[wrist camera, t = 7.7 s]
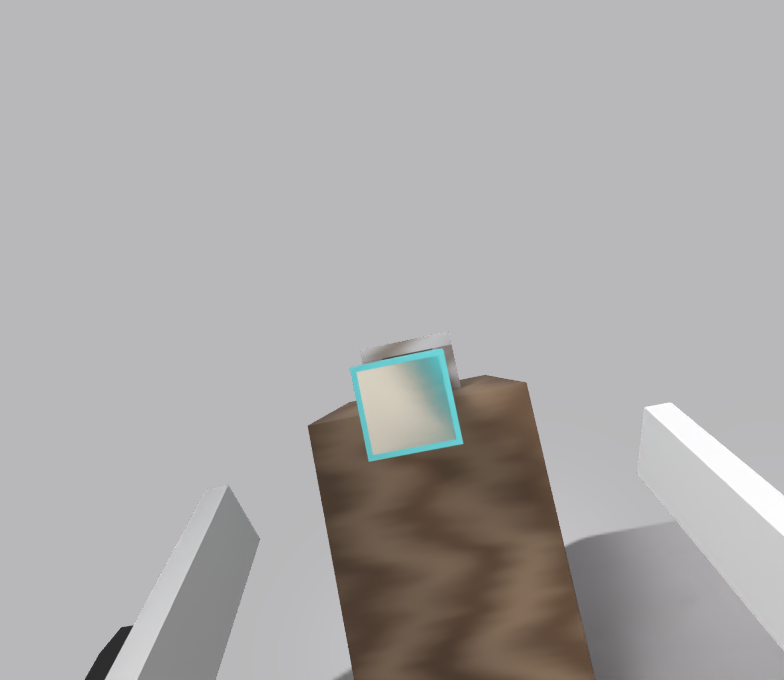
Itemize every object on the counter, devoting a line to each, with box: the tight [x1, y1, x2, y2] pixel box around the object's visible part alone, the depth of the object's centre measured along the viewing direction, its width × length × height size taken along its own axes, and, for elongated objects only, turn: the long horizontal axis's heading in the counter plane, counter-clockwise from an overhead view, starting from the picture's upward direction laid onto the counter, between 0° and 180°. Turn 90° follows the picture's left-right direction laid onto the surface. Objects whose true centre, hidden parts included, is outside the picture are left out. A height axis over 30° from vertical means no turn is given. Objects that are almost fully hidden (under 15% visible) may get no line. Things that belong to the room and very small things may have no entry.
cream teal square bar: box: [350, 349, 463, 462], centre depth 24 cm, size 3×22×3 cm, turn 176°
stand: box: [308, 332, 595, 680], centre depth 29 cm, size 14×14×34 cm
